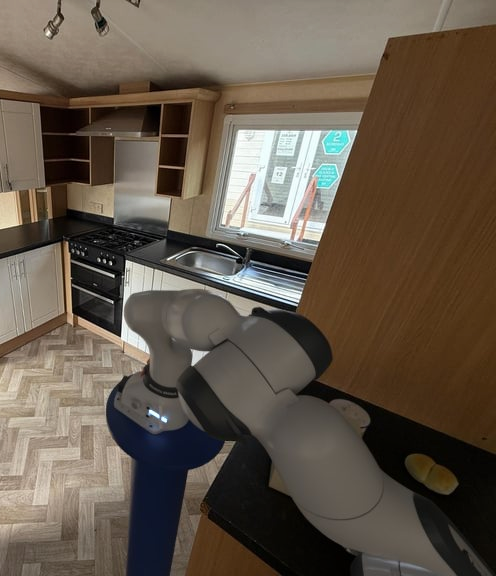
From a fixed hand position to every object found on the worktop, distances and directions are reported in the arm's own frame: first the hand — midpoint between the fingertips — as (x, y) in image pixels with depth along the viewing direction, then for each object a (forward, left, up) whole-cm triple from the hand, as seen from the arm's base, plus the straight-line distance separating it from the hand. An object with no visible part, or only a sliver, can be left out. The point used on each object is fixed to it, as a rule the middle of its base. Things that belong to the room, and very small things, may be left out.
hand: (393, 507), depth 63 cm
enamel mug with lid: (-7, +23, -6) cm, 24 cm away
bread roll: (+11, +19, -6) cm, 23 cm away
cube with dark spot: (-15, +4, -6) cm, 16 cm away
